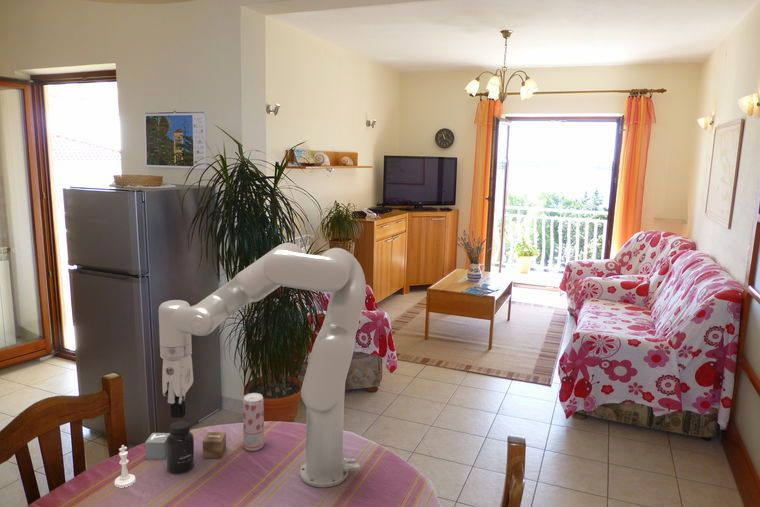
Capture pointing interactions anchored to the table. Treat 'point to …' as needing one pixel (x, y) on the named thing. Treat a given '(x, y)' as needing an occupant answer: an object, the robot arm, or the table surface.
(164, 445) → the slate-grey numbered block
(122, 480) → the chess piece
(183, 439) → the supplement bottle
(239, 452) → the table surface
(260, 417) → the beverage can
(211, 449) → the walnut numbered block
